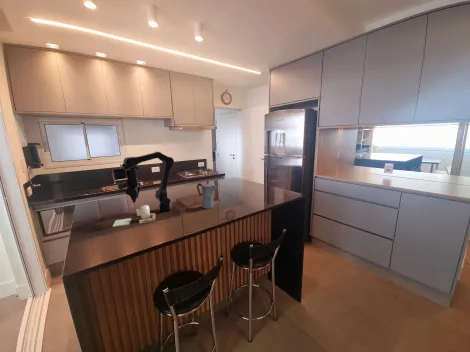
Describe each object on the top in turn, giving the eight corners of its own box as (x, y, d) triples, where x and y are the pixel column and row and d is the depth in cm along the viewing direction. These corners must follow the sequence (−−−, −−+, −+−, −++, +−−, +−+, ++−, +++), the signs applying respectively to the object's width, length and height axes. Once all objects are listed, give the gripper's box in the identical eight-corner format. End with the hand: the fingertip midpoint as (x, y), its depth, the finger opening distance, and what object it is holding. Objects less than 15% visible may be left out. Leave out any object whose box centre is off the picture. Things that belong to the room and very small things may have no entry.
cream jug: (150, 217, 135) (149, 204, 133) (150, 220, 130) (148, 207, 128) (138, 219, 133) (136, 206, 131) (137, 222, 128) (135, 208, 126)
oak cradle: (155, 214, 139) (155, 212, 138) (154, 221, 128) (154, 219, 128) (141, 216, 136) (141, 214, 136) (139, 223, 126) (139, 221, 125)
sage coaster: (131, 218, 133) (131, 218, 133) (129, 224, 125) (129, 223, 125) (115, 221, 130) (115, 220, 130) (112, 226, 122) (112, 226, 122)
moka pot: (215, 209, 145) (214, 182, 141) (195, 208, 148) (193, 182, 144) (218, 205, 154) (217, 179, 150) (200, 204, 158) (198, 179, 153)
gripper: (121, 175, 135) (125, 197, 138) (113, 181, 117) (118, 206, 121) (139, 173, 138) (142, 195, 141) (134, 179, 120) (138, 204, 124)
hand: (135, 200), depth 132 cm, fingers open, 9 cm apart
